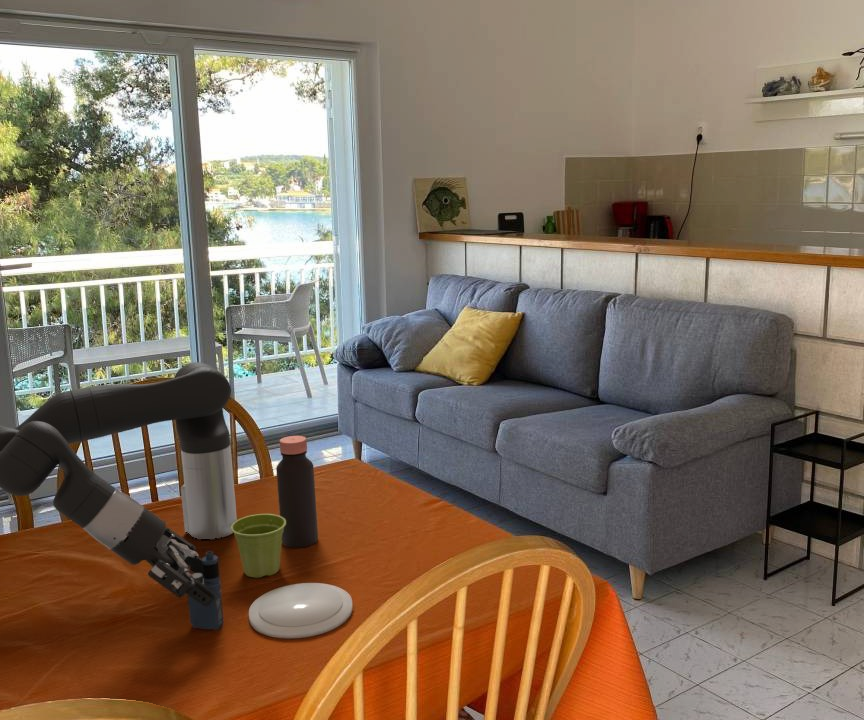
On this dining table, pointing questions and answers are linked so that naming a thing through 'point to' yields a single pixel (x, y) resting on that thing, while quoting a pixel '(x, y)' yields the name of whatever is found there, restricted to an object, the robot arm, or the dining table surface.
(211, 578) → the vaping device
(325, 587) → the plate
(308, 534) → the bottle
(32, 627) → the dining table surface
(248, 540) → the plant pot
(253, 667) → the dining table surface
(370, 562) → the dining table surface
